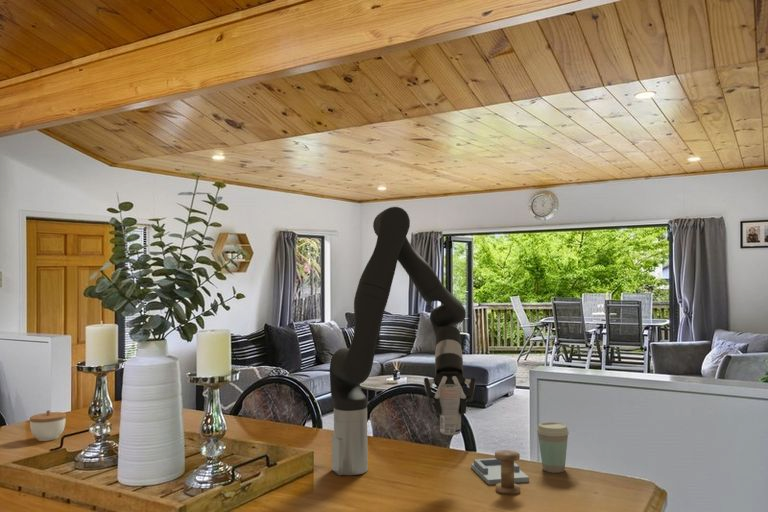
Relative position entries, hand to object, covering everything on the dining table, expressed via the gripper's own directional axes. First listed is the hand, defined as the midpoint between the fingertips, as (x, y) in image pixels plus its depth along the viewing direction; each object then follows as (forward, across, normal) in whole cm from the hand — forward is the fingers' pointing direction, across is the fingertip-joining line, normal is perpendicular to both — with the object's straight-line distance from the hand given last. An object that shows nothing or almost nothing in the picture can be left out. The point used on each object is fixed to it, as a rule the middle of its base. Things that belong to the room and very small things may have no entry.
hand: (450, 413), depth 155 cm
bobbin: (+15, +14, +11) cm, 23 cm away
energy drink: (+3, 0, +5) cm, 6 cm away
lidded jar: (-15, -134, +41) cm, 141 cm away
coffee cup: (+3, +28, +23) cm, 36 cm away
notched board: (+6, +13, +19) cm, 24 cm away
